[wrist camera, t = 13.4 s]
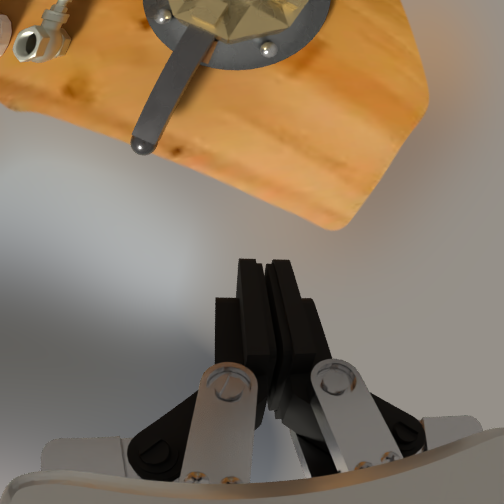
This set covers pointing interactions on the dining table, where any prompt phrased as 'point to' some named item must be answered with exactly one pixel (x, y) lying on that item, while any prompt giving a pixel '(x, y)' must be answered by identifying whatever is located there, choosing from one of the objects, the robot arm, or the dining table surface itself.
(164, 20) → the cap plate
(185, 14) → the castle nut fixture
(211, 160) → the dining table surface
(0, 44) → the white cup
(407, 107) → the dining table surface
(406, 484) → the robot arm
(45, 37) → the valve
